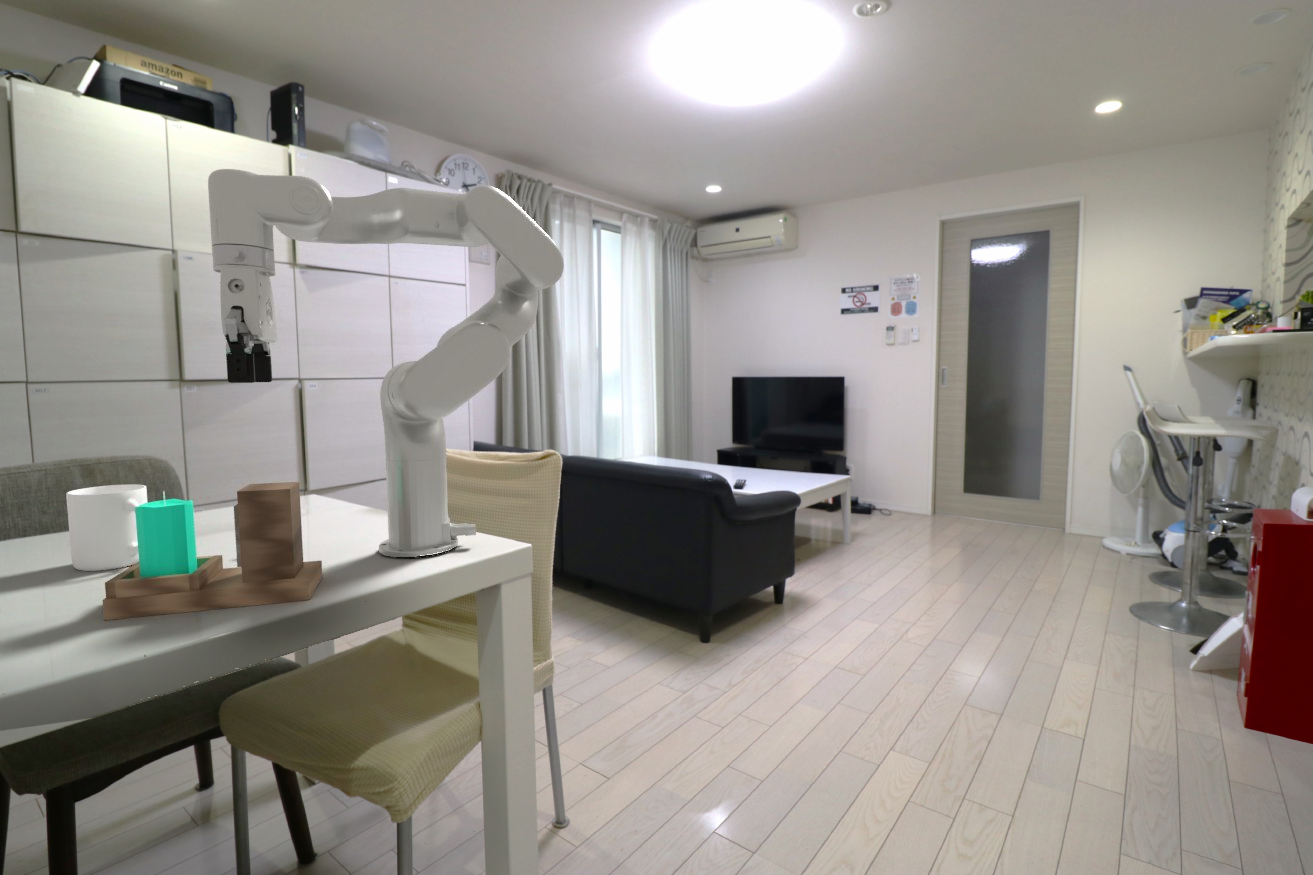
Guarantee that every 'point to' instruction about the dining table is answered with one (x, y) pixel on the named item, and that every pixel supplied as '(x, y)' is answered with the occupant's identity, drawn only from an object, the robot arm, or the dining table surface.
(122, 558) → the mug
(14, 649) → the dining table surface
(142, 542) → the candle
